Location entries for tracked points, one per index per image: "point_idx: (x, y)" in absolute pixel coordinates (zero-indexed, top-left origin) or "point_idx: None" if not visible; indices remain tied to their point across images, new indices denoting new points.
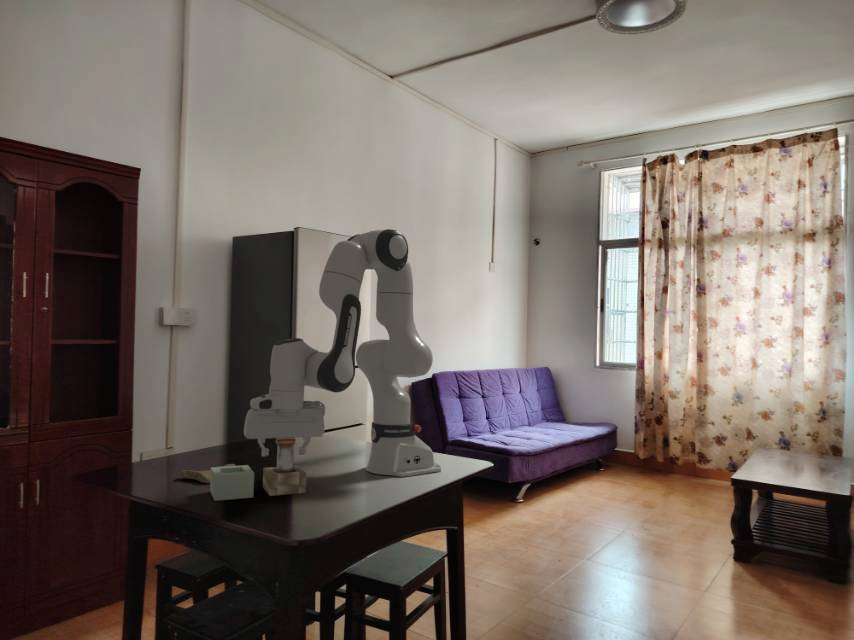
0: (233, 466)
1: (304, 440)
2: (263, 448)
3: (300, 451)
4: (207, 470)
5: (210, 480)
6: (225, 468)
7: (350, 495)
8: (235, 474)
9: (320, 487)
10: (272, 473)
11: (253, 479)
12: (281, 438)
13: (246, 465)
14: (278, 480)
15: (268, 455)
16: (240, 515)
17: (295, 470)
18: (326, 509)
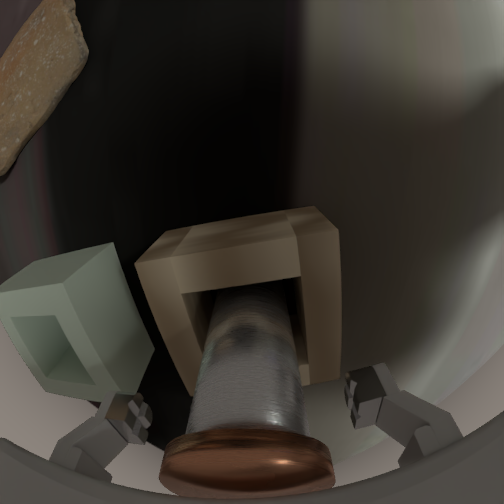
0: (28, 296)
1: (405, 448)
2: (114, 446)
3: (352, 406)
4: (5, 56)
5: (9, 164)
6: (20, 315)
7: (421, 356)
8: (83, 398)
9: (388, 268)
10: (194, 375)
11: (136, 387)
12: (206, 479)
13: (60, 288)
14: None
15: (150, 416)
16: (161, 434)
17: (305, 332)
18: (328, 433)
